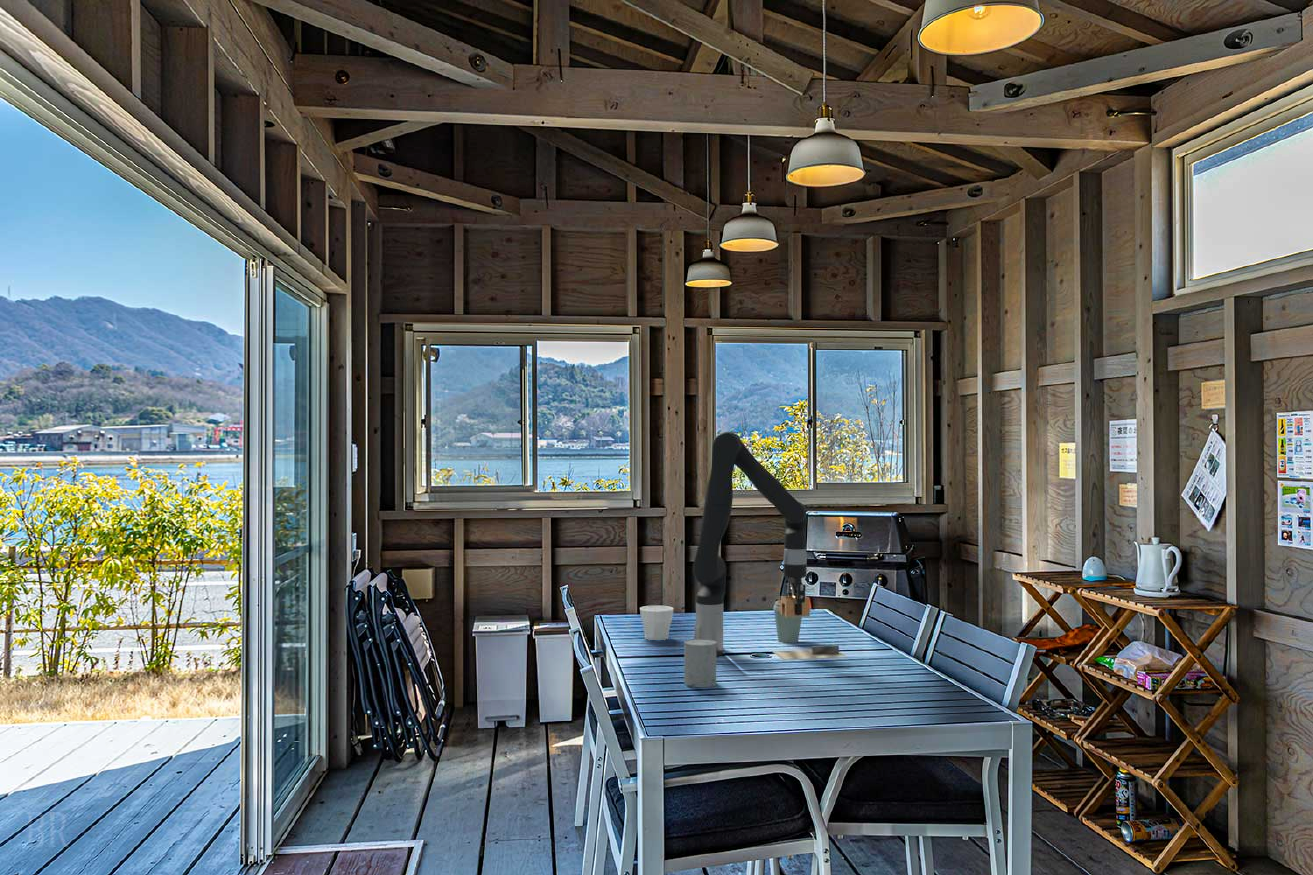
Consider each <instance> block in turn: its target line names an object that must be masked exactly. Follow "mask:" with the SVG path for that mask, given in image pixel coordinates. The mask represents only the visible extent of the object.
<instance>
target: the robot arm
mask: <svg viewBox="0 0 1313 875" xmlns="http://www.w3.org/2000/svg"><path fill="white" fill-rule="evenodd" d="M711 447H712V448H711V466H710V476H709V479H708V483H707V487H706V488H707V489H706V494H705V496H704V497H705V498H704V502H703V503H704V504H703V510H702V511H703V512H702V519H701V520H702V521H701V526H700V532H699V541H698V546H697V548H696V553H695V557H694V561H693V565H692V574H693V576H694V579H695V580H696V581H697V582H698V583H699V584H700V585H699V586H700V587H699V590H698V592H697V593H696V596H695V624H694V626H693V627H694V628H693V629H694V633H693V634H694V638H693V639H710V640H714V641H716V642H717V643H716V657H720V656H723V655H724V599H725V598H724V597H725V595H726V587H727V586H726V585H727V565H726V562H725V560H724V559H723V558H722V557H721V556H720V555H719V550H720V545H721V542H722V539H723V537H724V535H725V532H726V530H727V528H728V525H729V522H730V519H731V514H732V507H733V500H734V497H733V496H734V494H733V492H734V491H733V474H734V468H735V466H736V467H737V468H738V469H739V470H740V471H741V472H742V473H744V474H743V475H745V476H746V477H747V479H748V480H749V481H750V482H751V484H752V485H753V487H755V489H757V491H758V492H759V493H760V494H761V495H762V496H763V497H764V499H766V500H767V501H768V502H769V503H770V504H772V505H773V506H774V508H775V509H776V511H778V512H779V514H780V515H781V516H782V517H783V519H785V521H784V522H785V533H784V539H783V540H784V541H783V542H784V548H783V550H784V551H783V576H784V577H785V578H786V579H785V580H784V587H785V589H784V590H785V596H793V597H794V598H795V615H802V604H803V603H804V602H805V596H806V584H803V580H802V578H806V577H808V576H807V575H808V574H807V572H808V570H807V567H808V565H807V564H808V563H807V561H808V560H807V559H808V558H807V557H808V556H807V537H806V536H807V535H806V525H807V509H806V507H805V505H804V504H803V503H802V502H800V501H798V500H797V499H796V498H795V497H794V496H792V495H791V493H790V492H788V489H787V488H786V487H785V486H784V485H783V484H782V483H781V482H780V481H779V480H778V479H777V478H776V477H775V476H774V475H773V474H772V473H771V472H770V471H768V469H766V468H765V466H763V465H762V464H761V463H760V462H759V461H758V460H757V459H756V458H755V456H754V455H753V454H752V453H751V451H750V450H749V449H748V448H747V447H746V445H745V443H744V442H743V441H742V440H741V438H740V436H739V435H738V434H737V433H735V432H734V431H733V432H732V431H722V432H720V433H718V434H717V435H716V436H715V437H714V439H713V441H712V446H711ZM799 597H800V599H799Z"/></svg>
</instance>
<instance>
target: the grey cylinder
mask: <svg viewBox="0 0 1313 875" xmlns="http://www.w3.org/2000/svg"><path fill="white" fill-rule="evenodd" d="M683 642H684V658H683V659H684V660H683V662H684V665H683V667H684V668H683V669H684V670H683V673H684V677H683V678H684V680H683V681H684V682H683V684H684V683H685V684H686V685H689V686H692V687H691V688H695V687H707V688H712V687H711V686H713V687H715V686H716V685H717V656H716V643H717V642H716V641H714V640H710V639H694V638H690V639H686V640H684V641H683ZM685 684H684V685H685ZM686 685H685V686H686ZM714 685H715V686H714ZM689 686H688V687H689Z"/></svg>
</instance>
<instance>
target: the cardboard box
mask: <svg viewBox="0 0 1313 875" xmlns="http://www.w3.org/2000/svg"><path fill="white" fill-rule="evenodd" d="M799 599H800V597H799ZM780 601H781V614H782V615H785V617H802V618H803V617H811V614H810V613H811V611H810V610H811V609H810V607H811V603H810V601H811V599H810V597H808V596H806V595H805V602H804V603H803V604H802V615H795V598H794V597H793V596H786V595H780Z"/></svg>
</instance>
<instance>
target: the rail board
mask: <svg viewBox="0 0 1313 875" xmlns="http://www.w3.org/2000/svg"><path fill="white" fill-rule="evenodd" d="M771 652H772V653H773V654H775V656H778V657H779V658H780V659H782V660H802V659H803V660H806V659H807V660H808V659H809V660H810V659H811V660H812V659H833V658H836V659H837V658H848V656H847V655H846V654H843V653H841V652H840V647H839V645H837V644H836V645H835V644H834V645H833V644H831V645H811V649H807V650H806V649H802V650H801V649H799V650H778V651H777V650H776V651H775V650H774V651H771Z"/></svg>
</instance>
